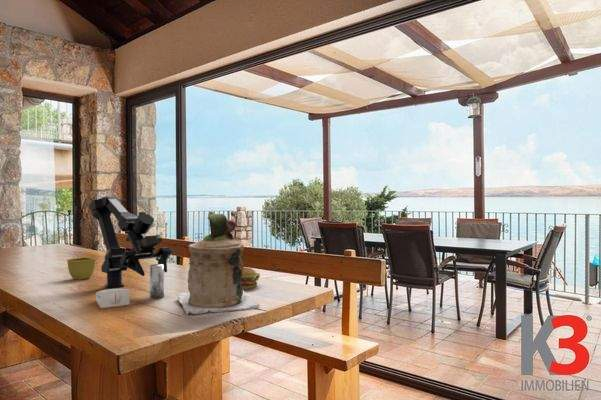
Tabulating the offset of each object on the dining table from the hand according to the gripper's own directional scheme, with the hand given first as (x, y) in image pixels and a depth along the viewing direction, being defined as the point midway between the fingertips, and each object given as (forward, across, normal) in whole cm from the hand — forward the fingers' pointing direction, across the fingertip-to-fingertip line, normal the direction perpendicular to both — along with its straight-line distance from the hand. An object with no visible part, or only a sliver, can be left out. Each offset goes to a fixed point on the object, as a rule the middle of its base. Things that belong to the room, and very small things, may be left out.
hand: (155, 273), depth 154 cm
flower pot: (-36, -2, +47) cm, 59 cm away
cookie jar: (+24, +8, -11) cm, 28 cm away
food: (+15, +33, -2) cm, 36 cm away
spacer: (+7, 0, +6) cm, 9 cm away
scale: (+3, -14, +9) cm, 17 cm away
